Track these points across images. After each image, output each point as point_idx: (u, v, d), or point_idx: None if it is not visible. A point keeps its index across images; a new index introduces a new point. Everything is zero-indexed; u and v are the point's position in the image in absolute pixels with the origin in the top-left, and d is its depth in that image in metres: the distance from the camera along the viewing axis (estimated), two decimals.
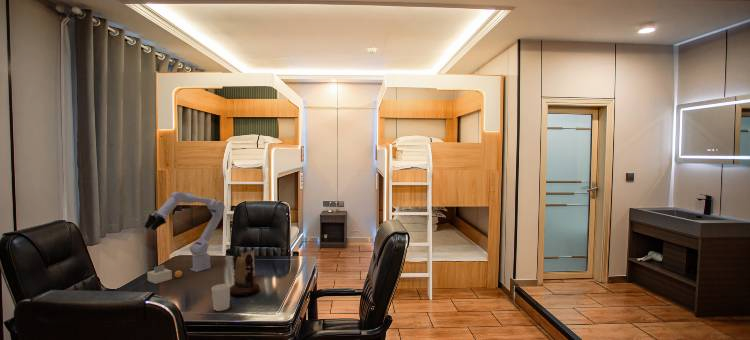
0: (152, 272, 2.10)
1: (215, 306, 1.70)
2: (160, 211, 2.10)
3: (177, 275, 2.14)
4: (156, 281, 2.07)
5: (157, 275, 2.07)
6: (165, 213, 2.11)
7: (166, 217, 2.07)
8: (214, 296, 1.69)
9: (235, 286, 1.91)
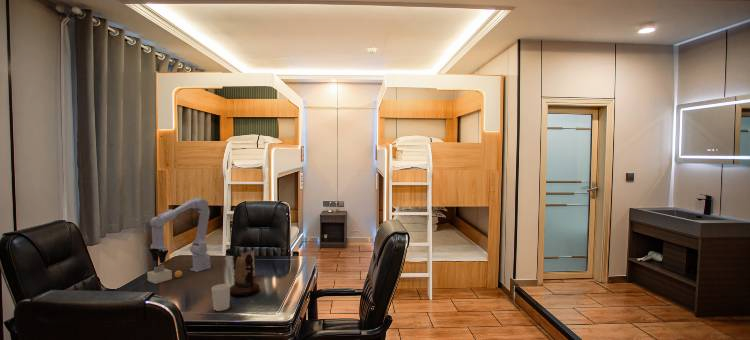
0: (152, 272, 2.10)
1: (215, 306, 1.70)
2: (155, 245, 2.09)
3: (177, 275, 2.14)
4: (156, 281, 2.07)
5: (157, 275, 2.07)
6: (160, 243, 2.10)
7: (164, 249, 2.07)
8: (214, 296, 1.69)
9: (235, 286, 1.91)
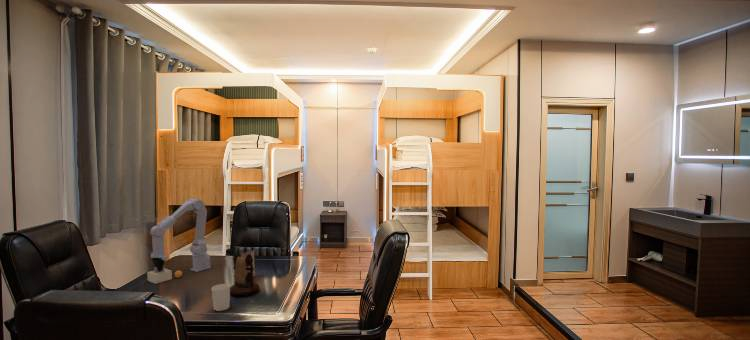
0: (152, 272, 2.10)
1: (215, 306, 1.70)
2: (155, 254, 2.09)
3: (177, 275, 2.14)
4: (156, 281, 2.07)
5: (157, 275, 2.07)
6: (161, 252, 2.10)
7: (165, 258, 2.08)
8: (214, 296, 1.69)
9: (235, 286, 1.91)
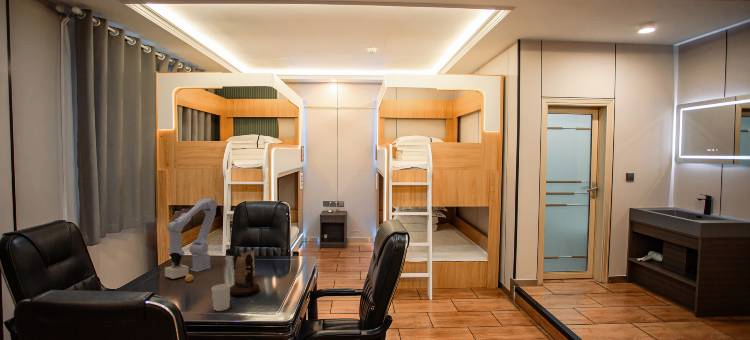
0: (169, 268, 2.15)
1: (215, 306, 1.70)
2: (173, 249, 2.13)
3: (188, 278, 2.07)
4: (173, 276, 2.11)
5: (175, 270, 2.11)
6: (178, 247, 2.14)
7: (182, 253, 2.12)
8: (214, 296, 1.69)
9: (235, 286, 1.91)
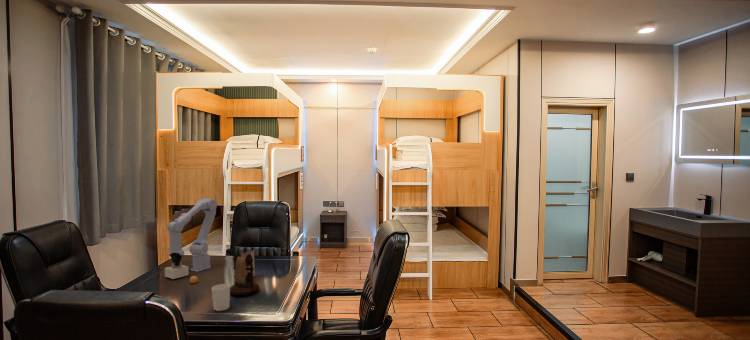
0: (169, 268, 2.15)
1: (215, 306, 1.70)
2: (173, 249, 2.13)
3: None
4: (174, 277, 2.11)
5: (175, 271, 2.11)
6: (178, 247, 2.14)
7: (182, 253, 2.12)
8: (214, 296, 1.69)
9: (235, 286, 1.91)
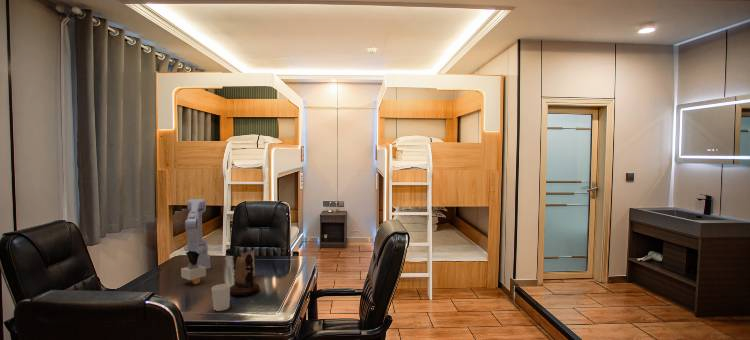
0: (186, 268, 2.04)
1: (215, 306, 1.70)
2: (190, 247, 2.02)
3: None
4: (191, 278, 2.00)
5: (192, 271, 2.01)
6: (195, 246, 2.04)
7: (200, 251, 2.01)
8: (214, 296, 1.69)
9: (235, 286, 1.91)
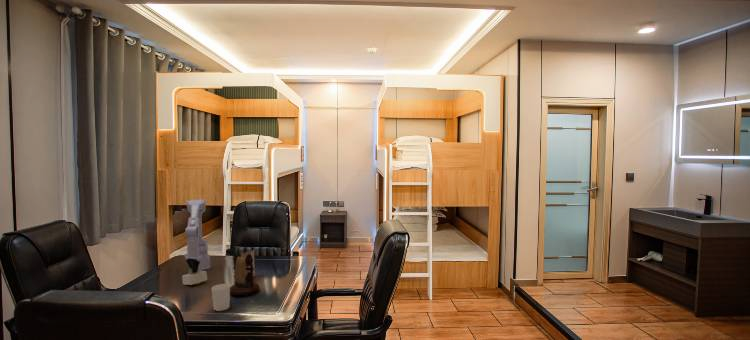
0: (187, 274, 2.04)
1: (215, 306, 1.70)
2: (190, 255, 2.03)
3: None
4: (192, 282, 2.00)
5: (192, 276, 2.00)
6: (196, 253, 2.04)
7: (200, 259, 2.01)
8: (214, 296, 1.69)
9: (235, 286, 1.91)
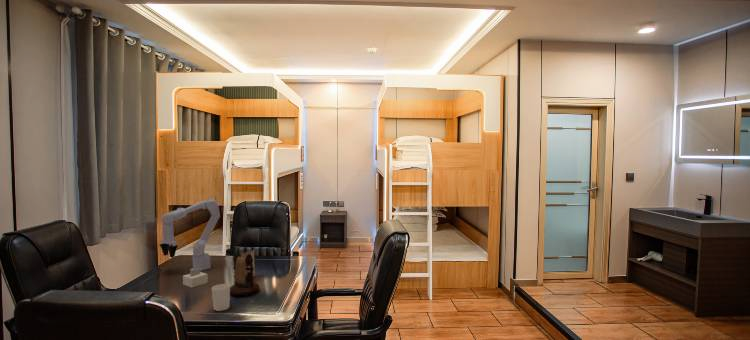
0: (188, 276, 2.03)
1: (215, 306, 1.70)
2: (165, 240, 2.20)
3: None
4: (193, 285, 2.00)
5: (193, 279, 2.00)
6: (170, 239, 2.21)
7: (174, 243, 2.19)
8: (214, 296, 1.69)
9: (235, 286, 1.91)
